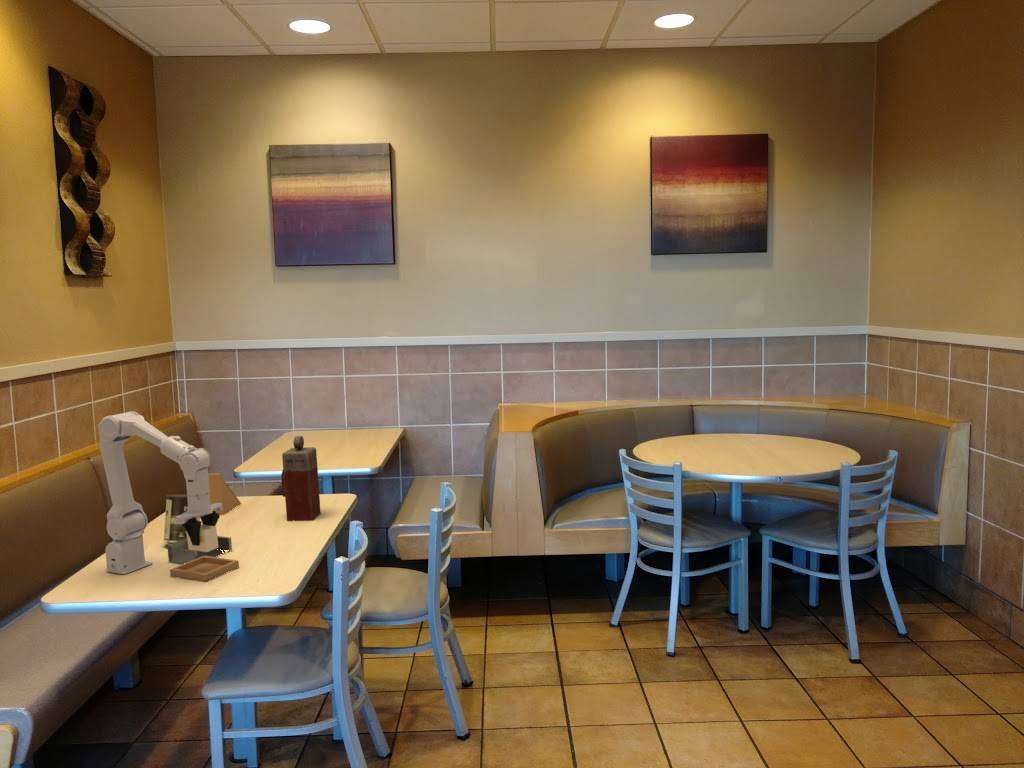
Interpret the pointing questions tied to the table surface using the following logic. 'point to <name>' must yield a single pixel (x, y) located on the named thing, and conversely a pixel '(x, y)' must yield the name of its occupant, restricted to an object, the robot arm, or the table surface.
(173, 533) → the coffee can
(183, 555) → the bay
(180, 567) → the tray
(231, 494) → the sandwich container
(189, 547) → the block with grey knob
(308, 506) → the red pepper mill
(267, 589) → the table surface
